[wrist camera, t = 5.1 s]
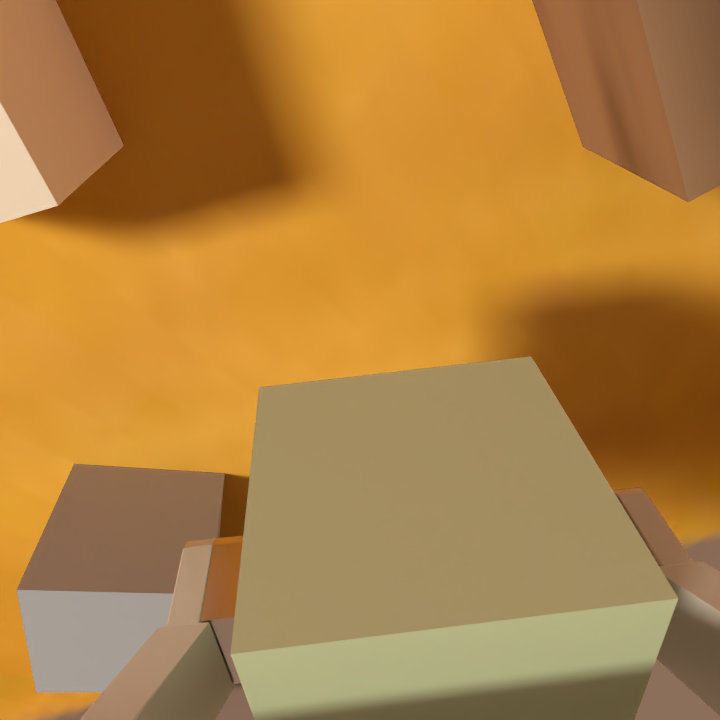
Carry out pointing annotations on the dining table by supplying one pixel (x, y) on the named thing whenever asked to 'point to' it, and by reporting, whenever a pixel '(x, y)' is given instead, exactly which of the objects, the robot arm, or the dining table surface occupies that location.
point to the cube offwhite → (46, 111)
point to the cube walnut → (643, 84)
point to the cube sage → (438, 556)
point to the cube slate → (110, 569)
